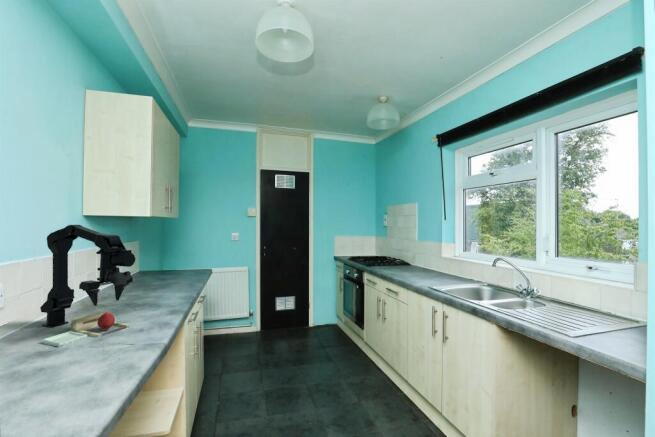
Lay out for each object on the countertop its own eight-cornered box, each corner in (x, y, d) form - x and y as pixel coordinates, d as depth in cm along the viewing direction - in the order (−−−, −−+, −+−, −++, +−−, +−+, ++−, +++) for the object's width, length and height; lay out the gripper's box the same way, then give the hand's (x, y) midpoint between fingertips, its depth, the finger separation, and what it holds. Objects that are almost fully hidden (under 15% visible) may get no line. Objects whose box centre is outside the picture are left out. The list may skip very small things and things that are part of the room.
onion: (105, 333, 123) (106, 313, 123) (93, 332, 124) (94, 312, 124) (117, 328, 129) (118, 309, 129) (106, 327, 130) (107, 308, 130)
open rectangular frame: (70, 332, 124) (71, 319, 124) (103, 322, 136) (103, 311, 136) (97, 337, 119) (98, 324, 119) (129, 326, 132) (129, 315, 132)
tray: (41, 342, 112) (41, 339, 112) (70, 334, 121) (70, 331, 121) (59, 346, 109) (59, 343, 109) (87, 337, 118) (87, 334, 118)
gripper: (99, 269, 116) (97, 311, 115) (143, 264, 133) (141, 299, 133) (79, 267, 119) (77, 307, 119) (124, 262, 137) (122, 297, 137)
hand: (106, 302), depth 127 cm, fingers open, 9 cm apart
